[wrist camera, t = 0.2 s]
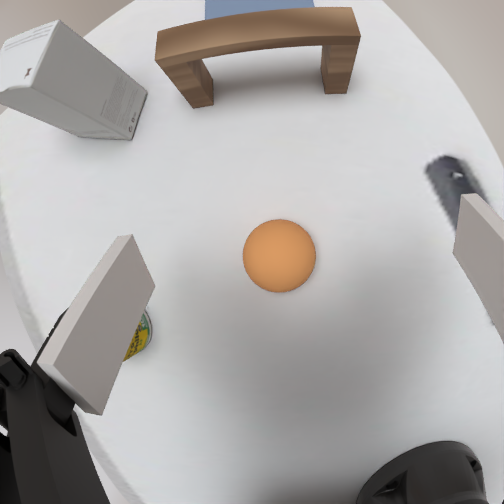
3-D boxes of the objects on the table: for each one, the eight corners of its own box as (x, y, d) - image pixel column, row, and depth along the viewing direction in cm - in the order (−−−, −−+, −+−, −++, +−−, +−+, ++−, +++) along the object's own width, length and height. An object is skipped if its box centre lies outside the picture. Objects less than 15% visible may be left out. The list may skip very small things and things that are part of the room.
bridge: (346, 93, 26) (360, 35, 17) (193, 108, 28) (154, 60, 19) (340, 67, 26) (351, 7, 17) (193, 83, 28) (157, 31, 19)
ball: (315, 286, 27) (319, 294, 21) (251, 289, 27) (239, 298, 22) (311, 220, 27) (314, 213, 21) (246, 225, 28) (234, 218, 22)
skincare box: (149, 91, 29) (67, 12, 14) (131, 144, 29) (30, 85, 15) (90, 92, 30) (5, 34, 16) (73, 139, 30) (-24, 96, 16)
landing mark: (320, 34, 26) (321, 33, 26) (205, 47, 28) (204, 46, 28) (303, -31, 26) (303, -32, 26) (206, -19, 28) (205, -20, 28)
